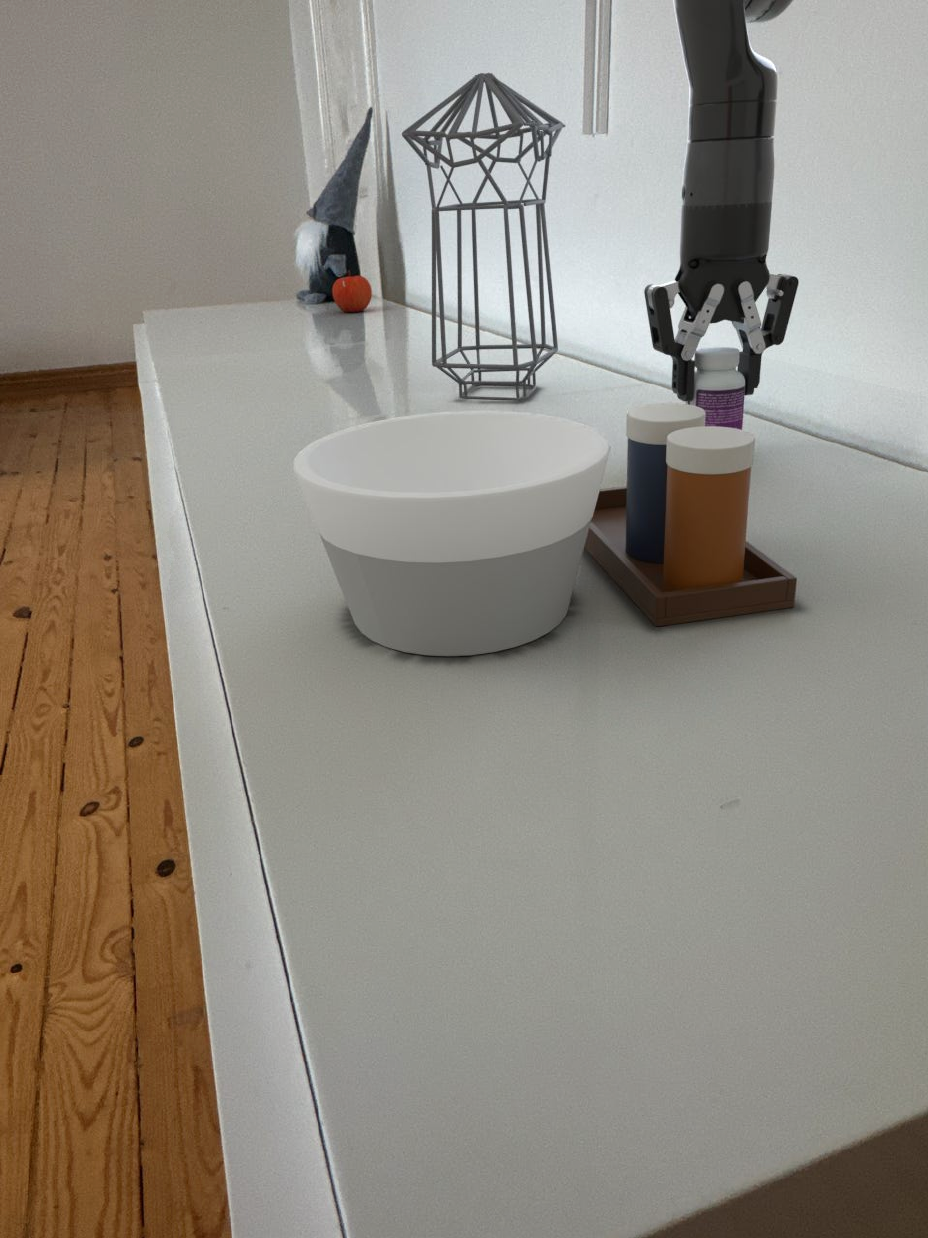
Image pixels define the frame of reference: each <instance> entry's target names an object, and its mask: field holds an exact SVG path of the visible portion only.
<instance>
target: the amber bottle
mask: <svg viewBox="0 0 928 1238" xmlns="http://www.w3.org/2000/svg"><path fill="white" fill-rule="evenodd" d="M755 444H756V437H755V435H754V434H753V433H751V432H749V431H746V430H744V429H742V430H740V429H736V428H729V427H717V426H703V427H691V428H685V429H680V430H677V431H674V432H672V433H670V434H669V435H668V436H667V448H666V463H667V465H668V466H667V492H666V519H665V545H664V572H663V588H664V590H665V592H671V591H679V590H686V589H693V588H701V587H708V586H715V585H722V584H730V583H737V582H742V581H743V568H744V555H745V542H746V541H747V528H748V516H749V515H748V514H749V502H750V489H751V475H752V466H753V464H754V459H755V458H754V457H755Z"/></svg>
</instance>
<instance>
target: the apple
mask: <svg viewBox="0 0 928 1238" xmlns="http://www.w3.org/2000/svg"><path fill="white" fill-rule="evenodd" d="M347 273H348V276H345V277H340V278H338V279H336V280H335V282H334V283H333V285H332V298H333V301H334V303H335V305H336V306H337V307H338V308H339V310H340V311H342V312H344V313H353V314H354V313H359V312H362V311H364V310H366V309H367V308H368V306H369V304H370V303H371V300H372V298H373V297H372V295H373V290H372V286H371V284H370V282H369V281H368V279H367V278H366V277H365V276H363V275H355V276H351V270H350V269H348V270H347Z"/></svg>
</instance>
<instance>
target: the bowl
mask: <svg viewBox="0 0 928 1238" xmlns="http://www.w3.org/2000/svg"><path fill="white" fill-rule="evenodd" d="M610 452H611V445H610V443H609V441H608V439H607V437H606V436H605V434H603V433H602V432H601V431H599V430H598V429H596V428H595V427H592V426H590V425H587V424H585V423H582V422H580V421H575V420H572V419H568V418H563V417H561V416H560V417H559V416H553V415H548V414H542V413H532V412H523V411H509V410H507V411H506V410H505V411H504V410H459V411H441V412H440V411H439V412H431V413H430V412H429V413H421V414H419V413H418V414H411V415H404V416H398V417H397V416H396V417H391V418H385V419H381V420H375V421H371V422H365V423H362V424H359V425H354V426H351V427H347V428H343V429H341V430H338V431H335V432H333V433H330V434H327V435H325V436H323V437H321V438H319V439H317V440H314V441H313V442H310V443H309V444H308V445H306V446H305V447H304V448H302V449H301V450H300V451H299V452H298V453H297V454H296V456H295V458H294V460H293V463H292V467H293V474H294V476H295V478H296V481H297V484H298V487H299V489H300V492H301V494H302V497H303V498H304V501H305V504H306V505H307V509H308V511H309V514H310V516H311V520H312V521H313V525H314V527H315V529H316V531H317V533H318V534H319V537H320V540H321V542H322V545H323V547H324V551H325V552H326V554H327V557H328V560H329V562H330V564H331V567H332V569H333V573H334V574H335V577H336V580H337V582H338V584H339V588H340V590H341V592H342V595H343V597H344V600H345V603H346V605H347V607H348V609H349V610H348V611H349V612H350V615H351V618H352V621H353V622H354V626H356V627H357V629H358V630H359V632H360V633H361V634H362V635H364V637H366V638H368V639H369V640H370V641H372V642H374V643H376V644H378V645H381V646H383V647H386V648H388V649H393V650H396V651H399V652H403V653H407V654H413V655H414V654H415V655H423V656H433V657H434V656H435V657H460V656H463V657H464V656H476V655H483V654H489V653H496V652H500V651H505V650H508V649H513V648H517V647H519V646H522V645H525V644H527V643H530V642H534V641H535V640H538V639H539V638H541V637H543V636H545V635H547V634H548V633H549V634H550V632H551V631H553V630H554V629H555V628H557V627H558V626H559V625H560V624H561V623H562V622H563V620H564V619H565V617H566V616H567V614H568V610H569V606H570V602H571V599H572V595H573V591H574V587H575V583H576V580H577V576H578V572H579V569H580V565H581V560H582V557H583V553H584V549H585V548H584V546H585V542H586V538H587V534H588V530H589V527H590V523H591V519H592V517H593V514H594V510H595V506H596V502H597V499H598V495H599V491H600V489H601V487H602V484H603V483H602V482H603V479H604V475H605V471H606V469H607V463H608V461H609V456H610Z"/></svg>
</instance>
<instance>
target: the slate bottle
mask: <svg viewBox="0 0 928 1238" xmlns="http://www.w3.org/2000/svg"><path fill="white" fill-rule="evenodd" d="M705 415H706V413H705V410H704V409H702V408H700V407H697V406H693V405H688V404H685V403H678V402H659V403H658V402H657V403H656V402H655V403H648V404H647V403H646V404H642V405H638V406H635V407H631V408H630V409H628V410H627V412H626V427H625V428H626V431H625V434H626V437H627V450H626V453H627V455H626V486H627V501H626V552H627V554H628V555H629V556H631V557H633V558H635V559H638V560H641V561H645V562H651V563H664V545H665V519H666V492H667V466H668V465H667V463H666V448H667V436H668V435H669V434H670V433H672V432H674V431H677V430H680V429H685V428H691V427H703V426H705Z"/></svg>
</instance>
